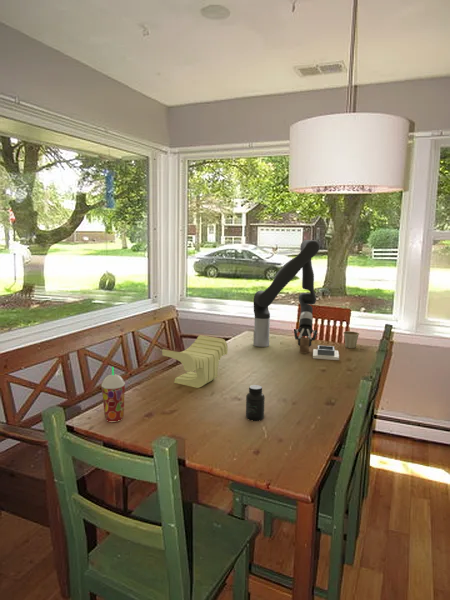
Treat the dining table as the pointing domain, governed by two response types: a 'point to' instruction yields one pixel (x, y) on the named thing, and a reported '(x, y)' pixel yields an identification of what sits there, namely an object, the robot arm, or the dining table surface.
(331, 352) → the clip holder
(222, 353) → the slatted curved stool
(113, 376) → the smoothie
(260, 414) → the supplement bottle
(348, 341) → the flower pot
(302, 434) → the dining table surface
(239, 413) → the dining table surface
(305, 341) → the walnut block
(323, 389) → the dining table surface
